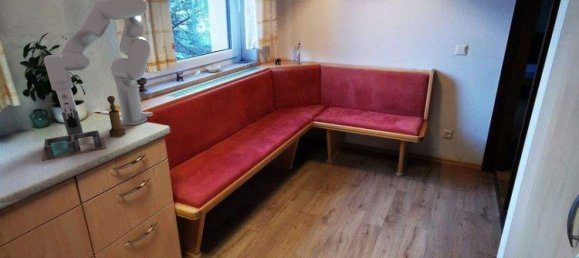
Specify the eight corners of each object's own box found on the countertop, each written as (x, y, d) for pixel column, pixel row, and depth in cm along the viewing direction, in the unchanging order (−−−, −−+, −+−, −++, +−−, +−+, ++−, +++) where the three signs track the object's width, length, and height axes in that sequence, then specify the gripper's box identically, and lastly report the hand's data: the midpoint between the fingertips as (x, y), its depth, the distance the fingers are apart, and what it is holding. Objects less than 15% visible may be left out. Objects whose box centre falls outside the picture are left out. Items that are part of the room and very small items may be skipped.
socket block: (103, 138, 152) (100, 126, 150) (106, 148, 141) (103, 135, 139) (43, 148, 141) (40, 136, 140) (42, 161, 130) (38, 147, 128)
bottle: (86, 131, 155) (77, 99, 150) (77, 137, 150) (68, 103, 144) (74, 131, 156) (65, 100, 150) (64, 136, 150) (55, 103, 145)
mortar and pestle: (129, 132, 158) (122, 94, 152) (119, 137, 152) (111, 98, 146) (117, 131, 160) (109, 93, 154) (106, 136, 154) (98, 97, 148)
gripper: (72, 87, 139) (83, 128, 146) (71, 79, 153) (81, 118, 160) (50, 90, 136) (63, 132, 142) (51, 82, 150) (63, 121, 156)
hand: (73, 124), depth 151 cm, fingers closed on bottle, 5 cm apart
